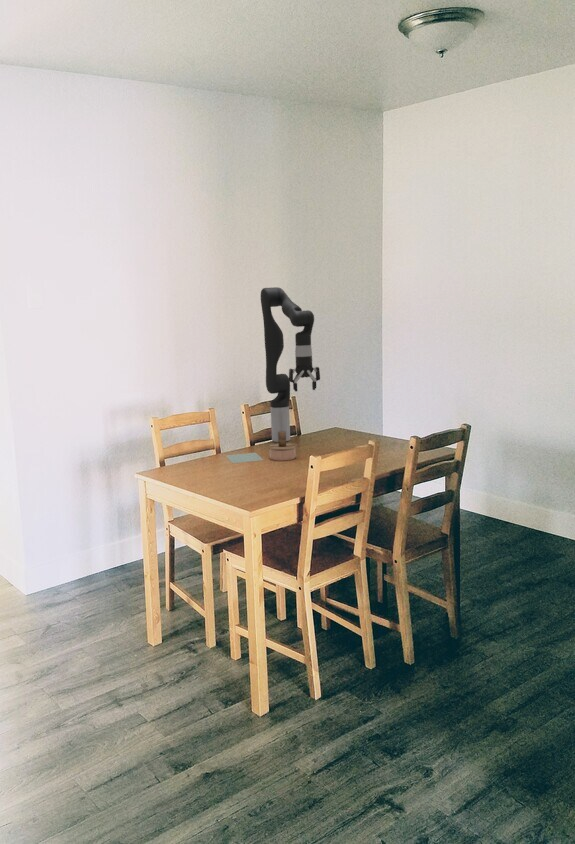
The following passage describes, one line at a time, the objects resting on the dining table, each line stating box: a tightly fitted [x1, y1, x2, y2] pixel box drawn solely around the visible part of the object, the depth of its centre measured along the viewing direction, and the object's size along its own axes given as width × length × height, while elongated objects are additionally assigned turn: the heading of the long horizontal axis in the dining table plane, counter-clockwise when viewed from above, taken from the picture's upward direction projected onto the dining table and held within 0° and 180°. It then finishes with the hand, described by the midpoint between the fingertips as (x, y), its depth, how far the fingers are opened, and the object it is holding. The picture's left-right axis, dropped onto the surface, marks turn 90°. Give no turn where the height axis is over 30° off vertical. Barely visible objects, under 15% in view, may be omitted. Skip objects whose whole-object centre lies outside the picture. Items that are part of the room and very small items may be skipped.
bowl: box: [268, 447, 297, 462], centre depth 316 cm, size 11×11×5 cm
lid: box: [268, 431, 297, 451], centre depth 315 cm, size 12×12×7 cm
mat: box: [225, 452, 264, 464], centre depth 319 cm, size 16×14×1 cm
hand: (304, 390), depth 326 cm, fingers open, 8 cm apart
